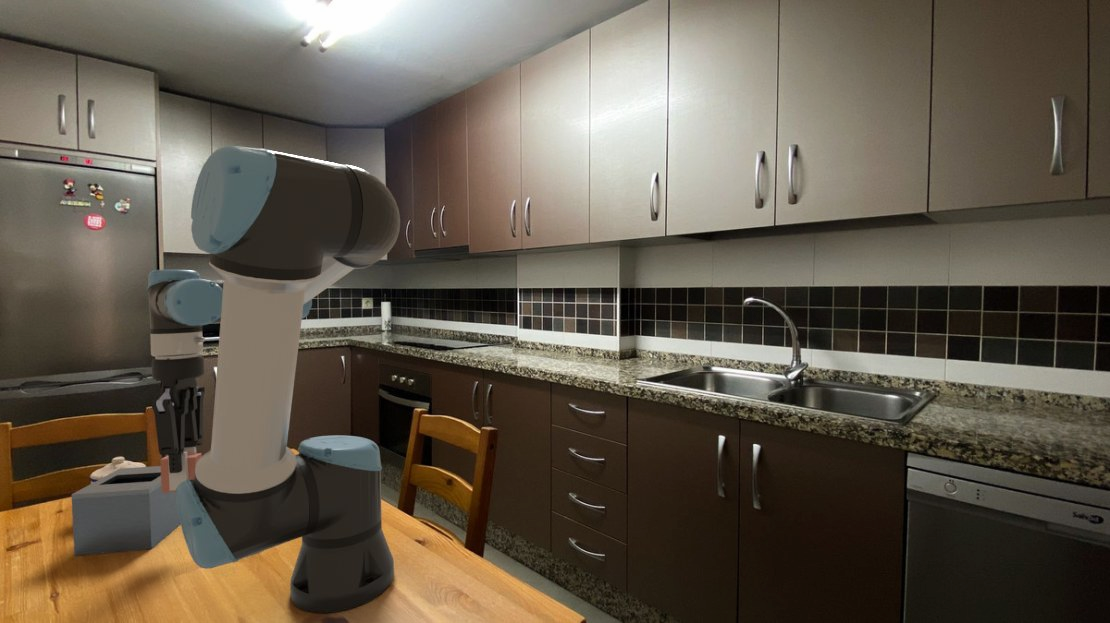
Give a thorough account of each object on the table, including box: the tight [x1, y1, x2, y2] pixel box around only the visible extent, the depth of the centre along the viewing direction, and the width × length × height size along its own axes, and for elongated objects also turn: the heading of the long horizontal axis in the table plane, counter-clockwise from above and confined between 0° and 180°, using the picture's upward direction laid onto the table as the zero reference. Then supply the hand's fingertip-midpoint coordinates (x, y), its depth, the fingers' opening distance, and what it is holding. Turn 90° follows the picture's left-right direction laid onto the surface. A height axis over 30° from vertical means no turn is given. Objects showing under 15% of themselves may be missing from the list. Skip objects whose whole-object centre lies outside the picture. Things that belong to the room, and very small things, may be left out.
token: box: [159, 452, 203, 493], centre depth 92 cm, size 2×6×6 cm, turn 101°
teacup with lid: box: [89, 456, 147, 484], centre depth 107 cm, size 12×9×12 cm
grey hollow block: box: [71, 465, 181, 557], centre depth 96 cm, size 13×12×11 cm
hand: (184, 485), depth 92 cm, fingers closed on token, 2 cm apart
